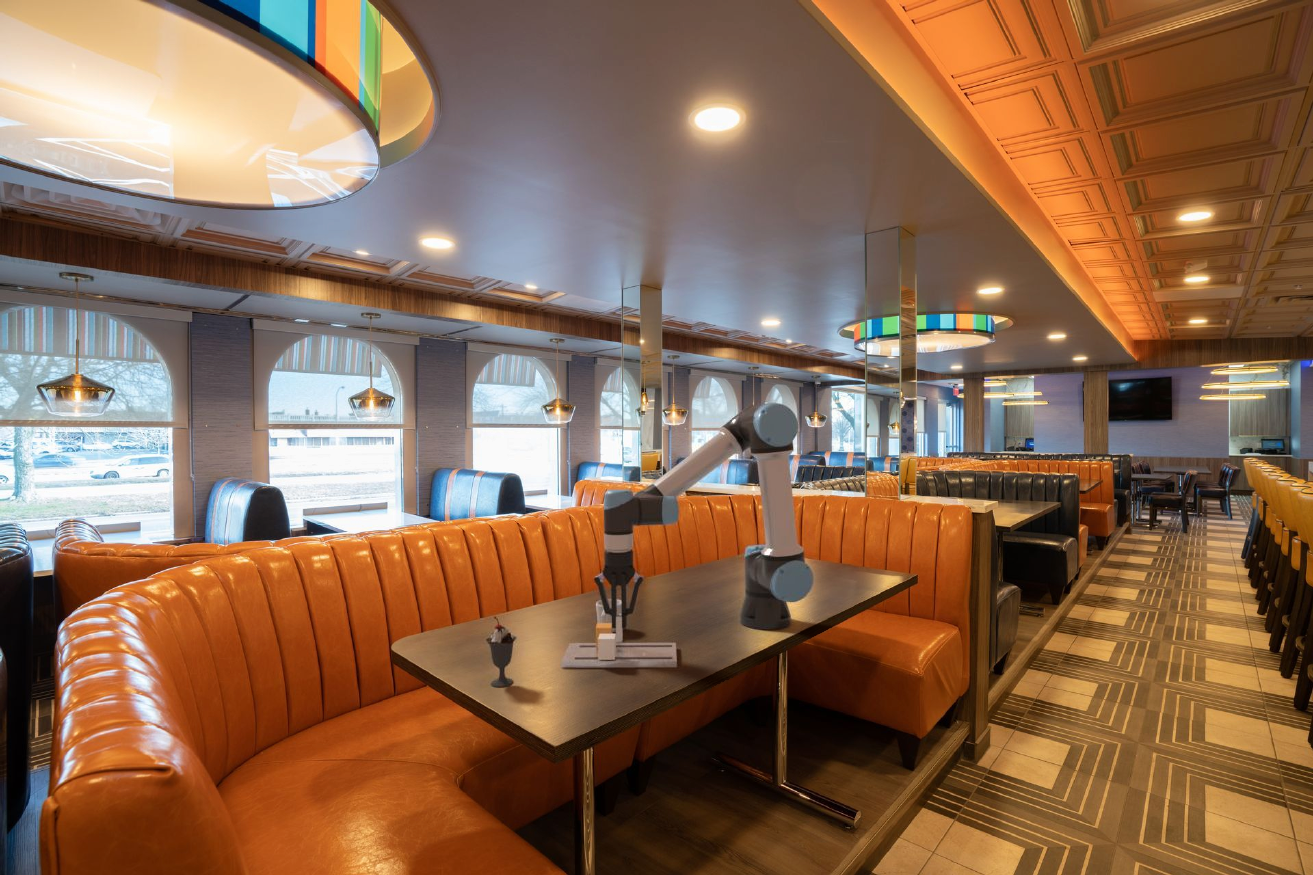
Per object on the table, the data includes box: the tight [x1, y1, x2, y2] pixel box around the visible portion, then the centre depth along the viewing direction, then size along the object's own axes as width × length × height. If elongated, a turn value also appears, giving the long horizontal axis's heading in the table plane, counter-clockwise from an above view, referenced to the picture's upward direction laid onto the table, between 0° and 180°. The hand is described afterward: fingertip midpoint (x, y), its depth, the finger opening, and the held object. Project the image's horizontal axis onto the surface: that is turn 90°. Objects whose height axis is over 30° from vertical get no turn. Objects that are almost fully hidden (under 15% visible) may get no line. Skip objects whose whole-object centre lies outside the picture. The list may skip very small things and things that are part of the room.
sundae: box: [485, 615, 517, 688], centre depth 139 cm, size 7×7×15 cm
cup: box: [595, 598, 622, 633], centre depth 175 cm, size 11×8×8 cm
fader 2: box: [598, 633, 617, 660], centre depth 150 cm, size 4×4×5 cm
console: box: [560, 642, 678, 669], centre depth 154 cm, size 28×13×2 cm, turn 89°
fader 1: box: [595, 622, 614, 647], centre depth 158 cm, size 4×4×5 cm
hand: (619, 640), depth 158 cm, fingers closed
